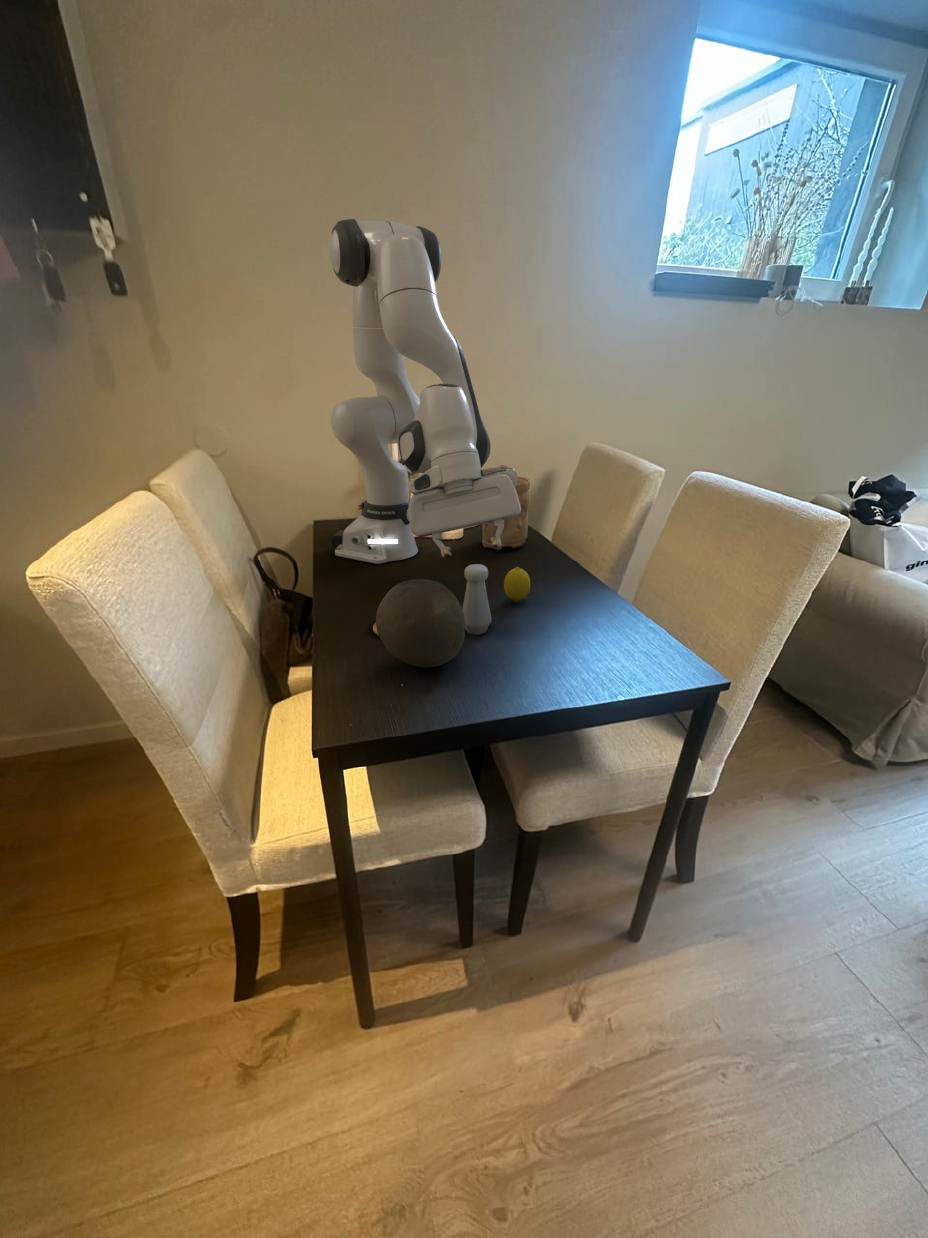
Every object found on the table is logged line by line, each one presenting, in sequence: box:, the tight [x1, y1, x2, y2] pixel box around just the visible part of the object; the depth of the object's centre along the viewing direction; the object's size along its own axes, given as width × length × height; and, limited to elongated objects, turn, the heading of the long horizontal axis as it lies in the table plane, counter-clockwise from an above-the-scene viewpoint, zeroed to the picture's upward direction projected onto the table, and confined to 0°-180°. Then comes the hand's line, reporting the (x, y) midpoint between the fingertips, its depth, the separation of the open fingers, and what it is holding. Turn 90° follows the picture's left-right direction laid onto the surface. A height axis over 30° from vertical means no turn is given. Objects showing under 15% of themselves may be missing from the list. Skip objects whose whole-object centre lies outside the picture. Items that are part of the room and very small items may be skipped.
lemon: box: [503, 566, 531, 603], centre depth 105 cm, size 6×6×8 cm
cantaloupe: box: [375, 578, 466, 669], centre depth 81 cm, size 14×14×15 cm
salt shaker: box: [462, 563, 492, 636], centre depth 93 cm, size 6×6×13 cm
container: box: [481, 476, 531, 551], centre depth 137 cm, size 13×13×18 cm
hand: (471, 551), depth 90 cm, fingers open, 8 cm apart
